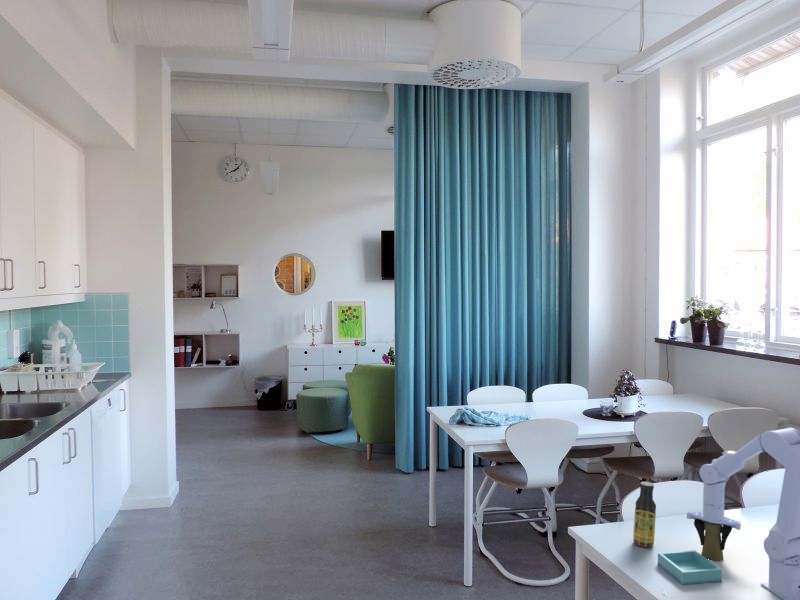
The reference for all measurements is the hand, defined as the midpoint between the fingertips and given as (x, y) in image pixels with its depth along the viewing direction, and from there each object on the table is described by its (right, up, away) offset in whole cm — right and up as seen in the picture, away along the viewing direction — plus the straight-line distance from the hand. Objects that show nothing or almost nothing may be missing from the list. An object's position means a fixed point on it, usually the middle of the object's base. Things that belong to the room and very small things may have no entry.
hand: (712, 546), depth 182 cm
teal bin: (-12, -4, -10) cm, 16 cm away
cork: (0, -3, 0) cm, 3 cm away
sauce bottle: (-17, -3, +9) cm, 20 cm away
